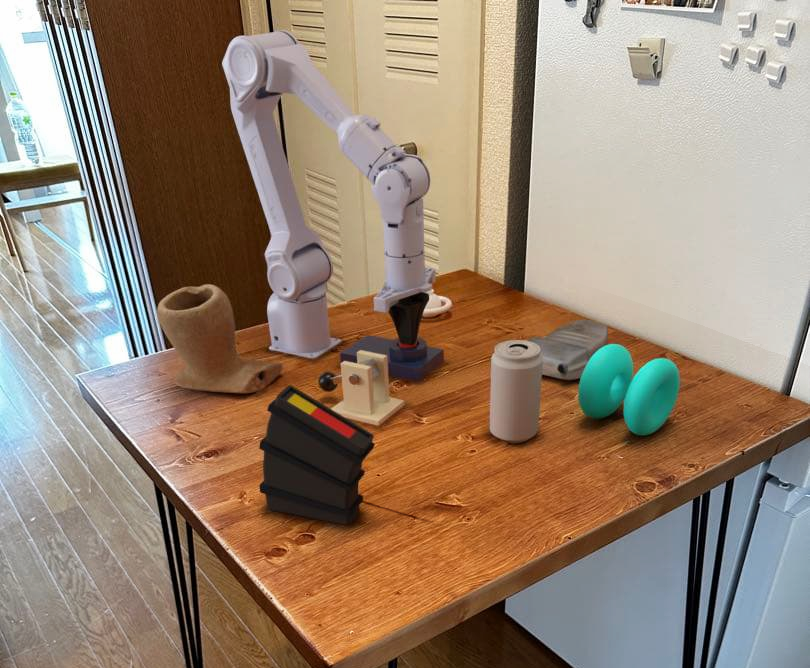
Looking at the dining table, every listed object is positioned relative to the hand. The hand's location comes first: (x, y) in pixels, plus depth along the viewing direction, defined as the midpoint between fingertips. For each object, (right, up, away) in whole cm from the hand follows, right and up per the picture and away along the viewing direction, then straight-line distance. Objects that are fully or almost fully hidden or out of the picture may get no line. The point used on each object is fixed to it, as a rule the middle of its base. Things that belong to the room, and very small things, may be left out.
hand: (408, 343), depth 122 cm
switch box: (-6, -12, -9) cm, 16 cm away
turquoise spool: (+29, -15, -14) cm, 35 cm away
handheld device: (+25, -2, +3) cm, 26 cm away
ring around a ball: (+4, +10, +20) cm, 23 cm away
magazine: (-10, -27, -29) cm, 41 cm away
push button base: (-2, -3, +4) cm, 5 cm away
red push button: (0, -1, +1) cm, 2 cm away
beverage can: (+14, -16, -16) cm, 26 cm away
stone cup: (-28, -7, 0) cm, 29 cm away
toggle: (-8, -8, -9) cm, 15 cm away
